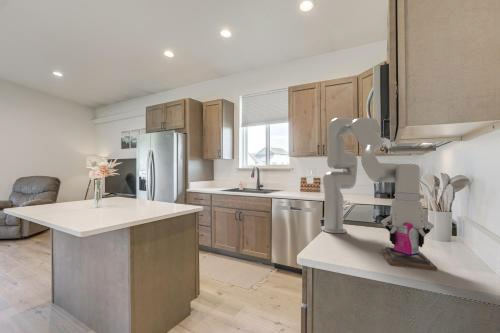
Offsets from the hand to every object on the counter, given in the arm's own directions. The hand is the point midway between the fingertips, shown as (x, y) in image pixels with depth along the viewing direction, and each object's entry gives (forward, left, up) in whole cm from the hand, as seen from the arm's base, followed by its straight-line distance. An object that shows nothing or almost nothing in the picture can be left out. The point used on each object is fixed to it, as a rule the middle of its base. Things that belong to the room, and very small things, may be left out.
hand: (406, 244), depth 88 cm
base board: (0, 0, -6) cm, 6 cm away
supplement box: (0, 0, -3) cm, 3 cm away
